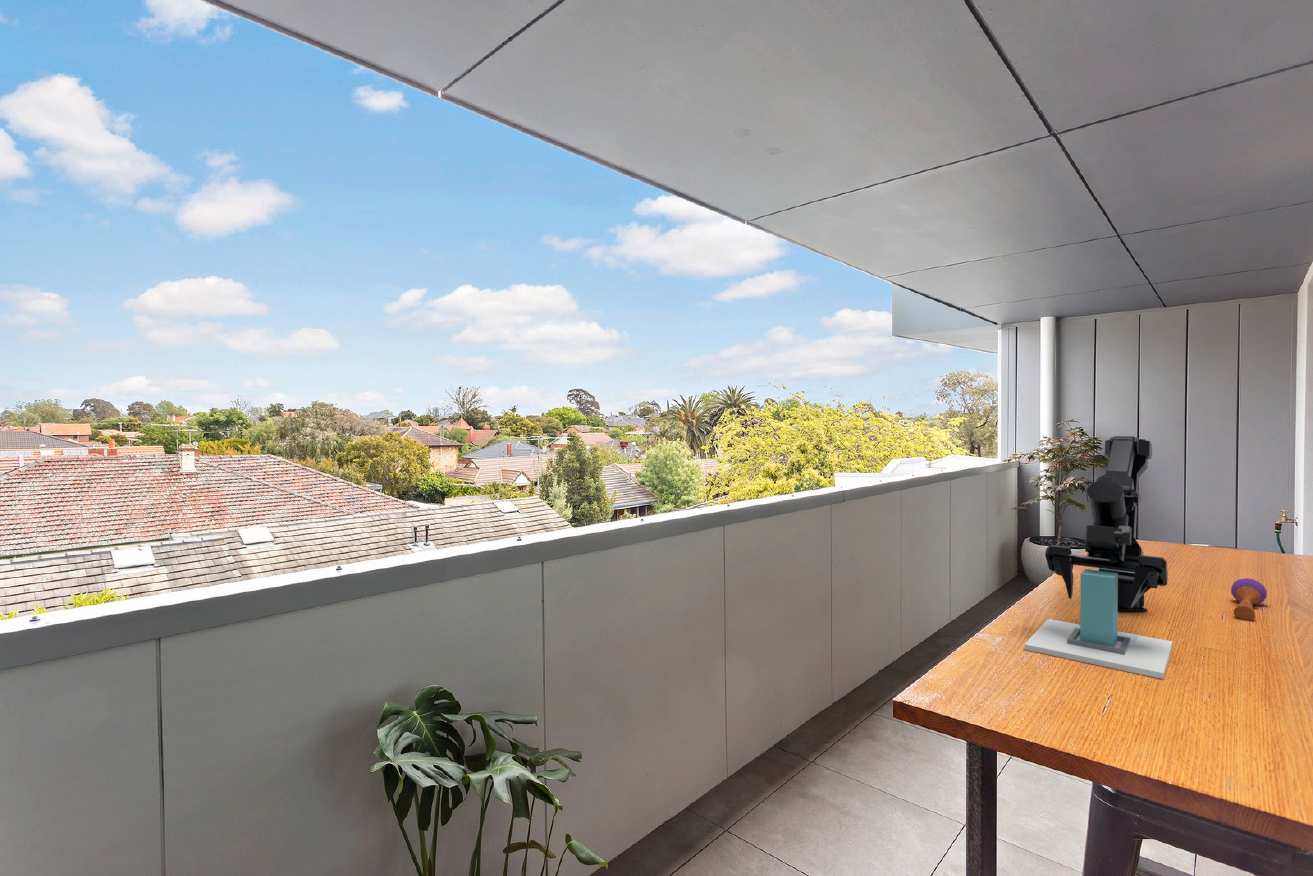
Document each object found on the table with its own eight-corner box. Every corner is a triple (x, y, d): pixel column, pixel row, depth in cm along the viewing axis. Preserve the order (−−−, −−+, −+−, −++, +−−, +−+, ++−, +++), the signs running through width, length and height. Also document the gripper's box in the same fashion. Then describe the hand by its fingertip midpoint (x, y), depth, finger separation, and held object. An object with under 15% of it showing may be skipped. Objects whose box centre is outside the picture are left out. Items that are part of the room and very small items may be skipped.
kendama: (1222, 599, 133) (1229, 575, 147) (1228, 627, 133) (1235, 600, 147) (1260, 599, 129) (1263, 575, 143) (1267, 628, 129) (1270, 601, 142)
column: (1085, 636, 119) (1085, 569, 119) (1117, 642, 115) (1117, 573, 115) (1079, 643, 115) (1080, 573, 115) (1113, 649, 112) (1113, 578, 111)
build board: (1048, 623, 129) (1048, 615, 129) (1172, 646, 116) (1172, 637, 116) (1024, 649, 115) (1024, 639, 115) (1163, 679, 101) (1163, 668, 101)
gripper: (1047, 505, 125) (1034, 569, 117) (1167, 513, 112) (1161, 586, 104) (1055, 538, 131) (1043, 601, 123) (1170, 550, 118) (1164, 621, 110)
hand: (1099, 602), depth 115 cm, fingers open, 9 cm apart
